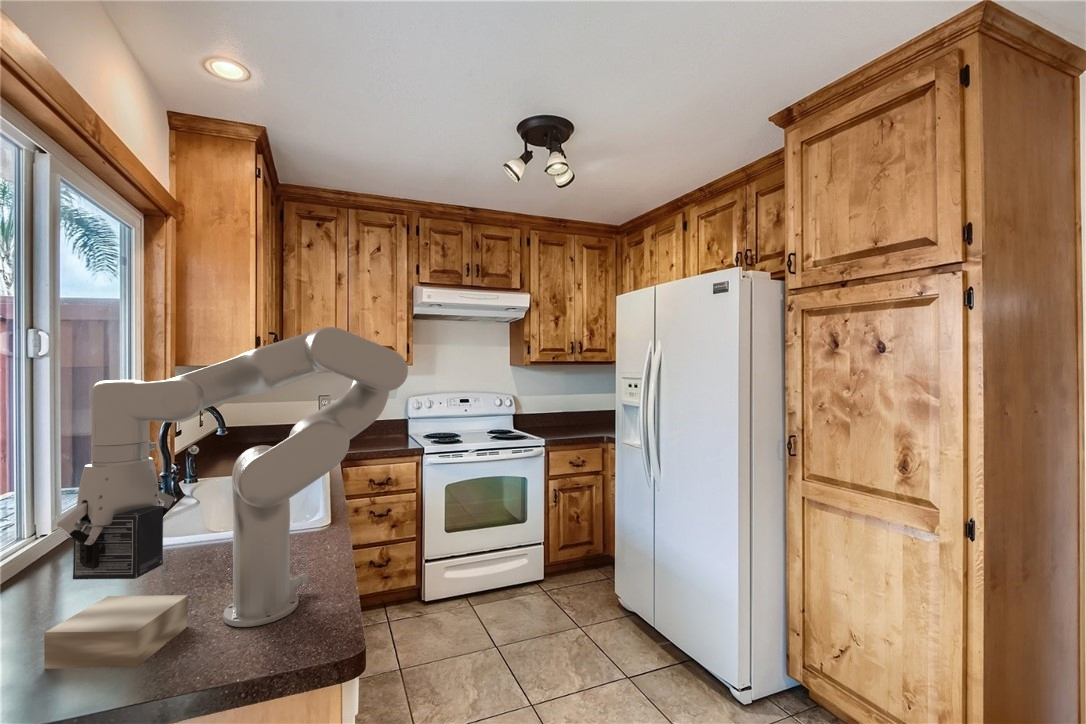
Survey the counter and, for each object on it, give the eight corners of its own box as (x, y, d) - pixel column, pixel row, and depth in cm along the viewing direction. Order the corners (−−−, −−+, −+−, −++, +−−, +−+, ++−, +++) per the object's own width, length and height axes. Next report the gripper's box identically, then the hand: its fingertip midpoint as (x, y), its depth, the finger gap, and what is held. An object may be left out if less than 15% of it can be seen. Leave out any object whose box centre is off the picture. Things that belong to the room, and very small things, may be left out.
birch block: (108, 629, 90) (108, 596, 90) (187, 628, 91) (187, 595, 91) (44, 670, 78) (44, 632, 78) (136, 669, 79) (136, 631, 79)
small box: (166, 563, 88) (166, 504, 88) (136, 580, 81) (137, 515, 81) (104, 564, 88) (105, 504, 88) (70, 580, 81) (70, 515, 81)
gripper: (160, 444, 94) (160, 537, 94) (41, 461, 78) (40, 574, 78) (188, 446, 91) (187, 542, 91) (71, 465, 75) (70, 582, 75)
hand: (120, 556), depth 85 cm, fingers closed on small box, 8 cm apart
